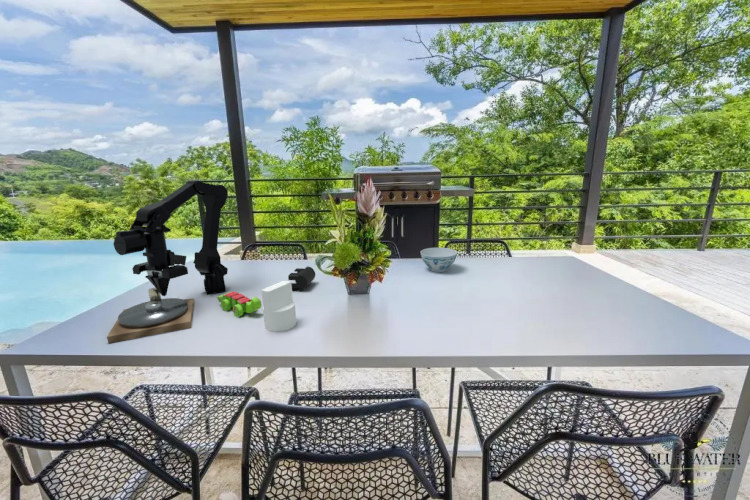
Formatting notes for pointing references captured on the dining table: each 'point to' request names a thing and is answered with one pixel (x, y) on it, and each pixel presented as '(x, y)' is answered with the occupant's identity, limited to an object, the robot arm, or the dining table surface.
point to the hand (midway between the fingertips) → (164, 295)
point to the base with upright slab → (278, 307)
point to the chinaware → (438, 258)
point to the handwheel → (153, 311)
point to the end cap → (301, 278)
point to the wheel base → (152, 327)
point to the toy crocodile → (239, 303)
